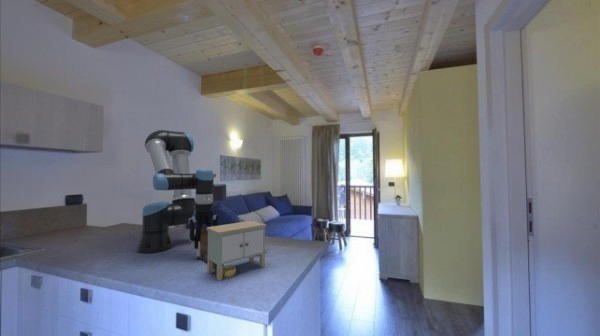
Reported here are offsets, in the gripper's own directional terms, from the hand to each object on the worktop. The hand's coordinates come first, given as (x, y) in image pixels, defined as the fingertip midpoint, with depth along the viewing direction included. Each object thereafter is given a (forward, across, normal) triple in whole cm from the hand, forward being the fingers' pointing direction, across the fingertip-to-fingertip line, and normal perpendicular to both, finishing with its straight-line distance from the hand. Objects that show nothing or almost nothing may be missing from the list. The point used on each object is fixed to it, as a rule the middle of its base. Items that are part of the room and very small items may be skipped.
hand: (203, 254), depth 111 cm
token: (+2, 0, -25) cm, 25 cm away
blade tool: (+1, 0, -8) cm, 8 cm away
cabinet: (+2, +5, -22) cm, 23 cm away
